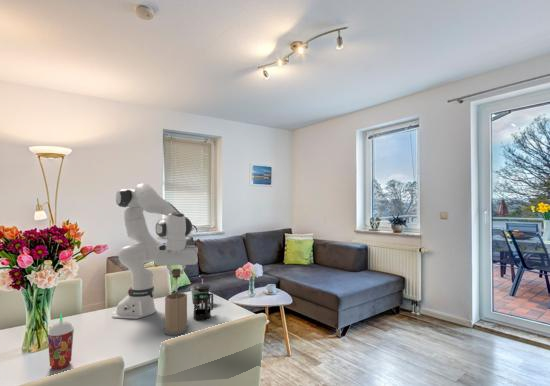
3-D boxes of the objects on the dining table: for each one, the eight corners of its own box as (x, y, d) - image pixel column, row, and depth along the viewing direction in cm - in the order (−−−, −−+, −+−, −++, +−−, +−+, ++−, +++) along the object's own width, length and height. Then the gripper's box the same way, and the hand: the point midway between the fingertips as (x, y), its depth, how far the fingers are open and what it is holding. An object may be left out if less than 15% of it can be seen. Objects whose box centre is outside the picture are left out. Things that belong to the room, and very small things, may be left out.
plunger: (166, 305, 146) (166, 271, 146) (170, 300, 153) (170, 267, 154) (182, 304, 147) (182, 271, 147) (185, 299, 154) (185, 267, 154)
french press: (197, 322, 159) (197, 278, 160) (188, 317, 166) (189, 275, 167) (216, 316, 167) (217, 274, 168) (208, 312, 174) (208, 271, 175)
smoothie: (75, 358, 124) (75, 308, 125) (71, 368, 117) (71, 316, 117) (50, 362, 121) (51, 311, 121) (44, 373, 113) (44, 319, 114)
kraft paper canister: (161, 336, 144) (161, 300, 144) (168, 324, 157) (168, 291, 157) (185, 335, 145) (185, 299, 145) (190, 323, 158) (190, 290, 158)
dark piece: (187, 305, 185) (187, 288, 186) (190, 302, 192) (190, 285, 192) (207, 305, 185) (207, 289, 185) (210, 302, 191) (210, 286, 191)
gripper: (199, 244, 155) (198, 271, 155) (157, 245, 152) (156, 272, 152) (197, 246, 149) (197, 274, 148) (153, 247, 146) (153, 276, 146)
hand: (176, 273), depth 150 cm, fingers closed on plunger, 4 cm apart
